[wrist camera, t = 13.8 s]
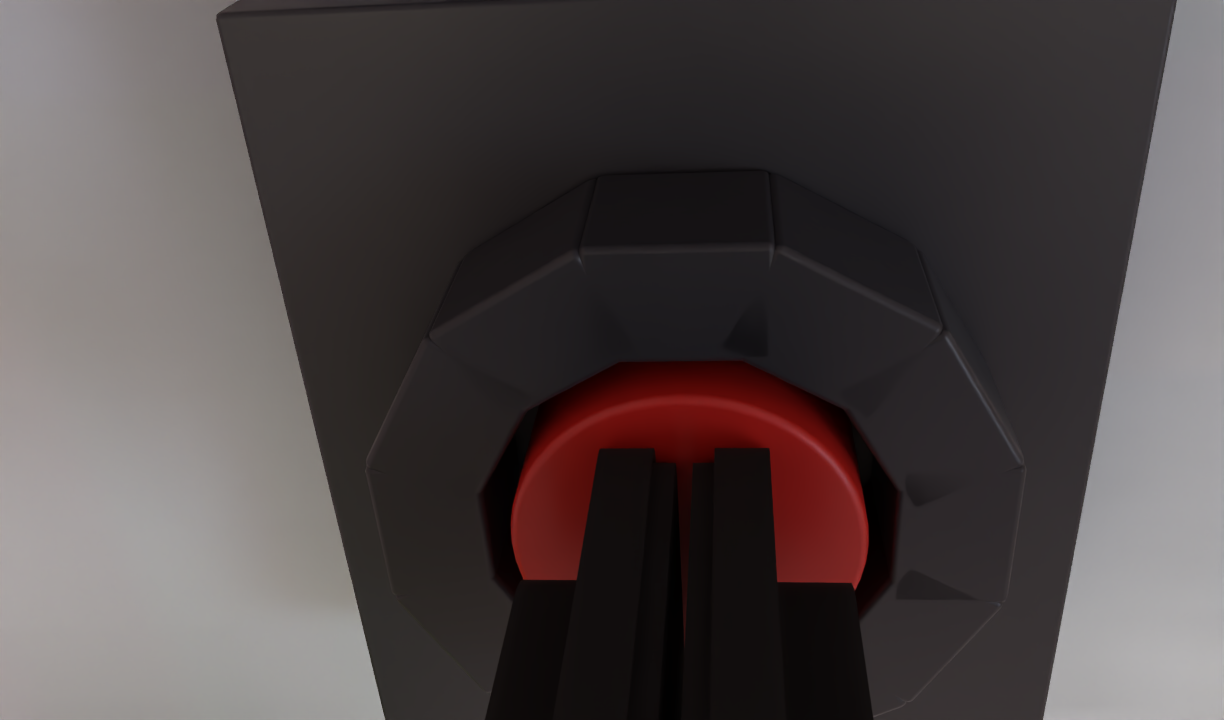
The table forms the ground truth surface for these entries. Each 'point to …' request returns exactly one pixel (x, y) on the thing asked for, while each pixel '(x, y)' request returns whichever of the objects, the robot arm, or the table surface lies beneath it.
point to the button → (689, 433)
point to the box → (708, 281)
